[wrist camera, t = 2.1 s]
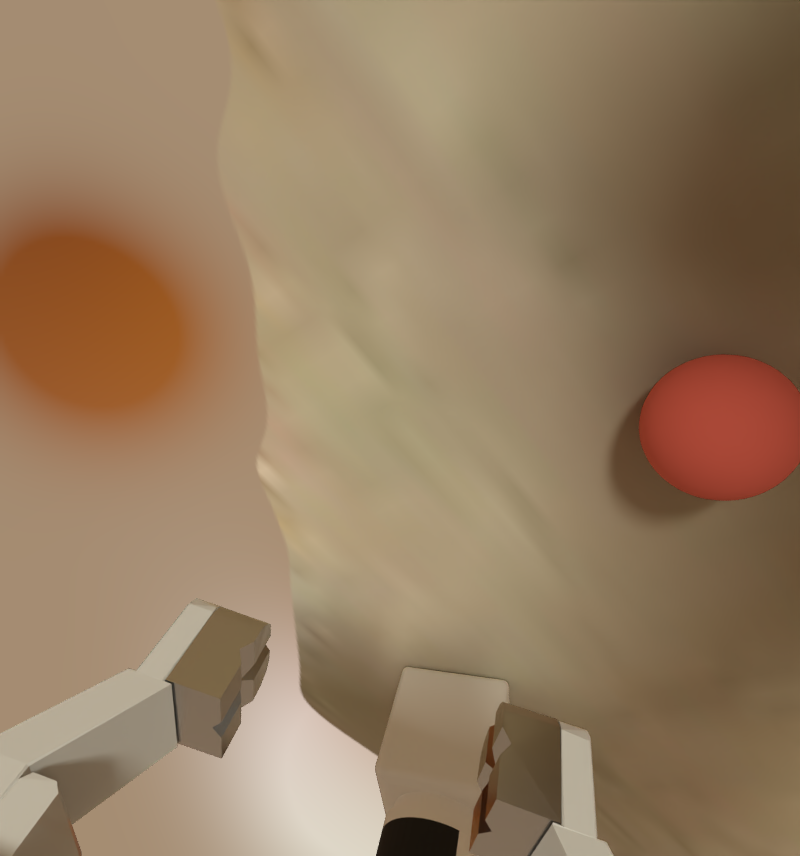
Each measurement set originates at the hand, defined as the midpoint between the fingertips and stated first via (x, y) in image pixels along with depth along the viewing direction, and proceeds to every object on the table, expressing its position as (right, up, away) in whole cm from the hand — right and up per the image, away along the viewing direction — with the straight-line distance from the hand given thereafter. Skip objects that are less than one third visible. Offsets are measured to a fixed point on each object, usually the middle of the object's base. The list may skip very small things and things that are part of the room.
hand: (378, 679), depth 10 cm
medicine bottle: (+4, -15, +27) cm, 31 cm away
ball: (+13, +5, +11) cm, 17 cm away
